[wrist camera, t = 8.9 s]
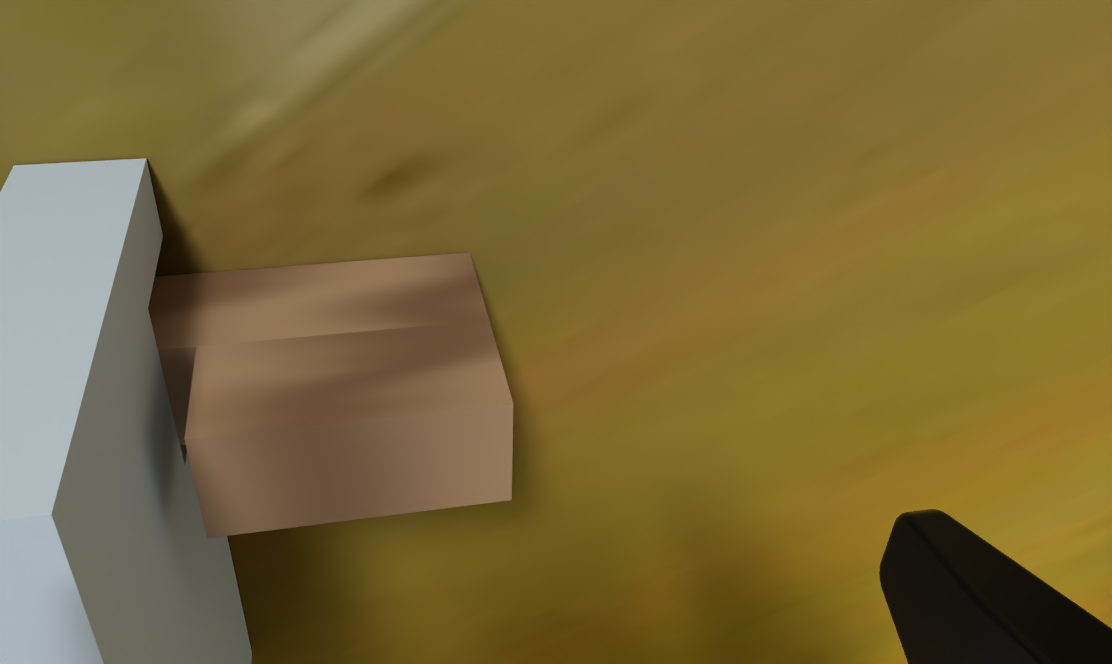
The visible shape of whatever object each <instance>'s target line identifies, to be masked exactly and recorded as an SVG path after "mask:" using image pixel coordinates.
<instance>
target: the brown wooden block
mask: <svg viewBox="0 0 1112 664" xmlns="http://www.w3.org/2000/svg"><path fill="white" fill-rule="evenodd" d="M148 311H149V315H150V319H151V323H152V328H153V332H154V336H155V340H156V345H157V349H158V353H159V357H160V362H161V366H162V370H163V374H164V379H165V383H166V387H167V391H168V396H169V400H170V404H171V408H172V413H173V417H174V421H175V426H176V430H177V434H178V438H179V443H180V445H185V444H186V449H187V453H188V457H189V462H190V466H191V470H192V475H193V479H194V483H195V488H196V492H197V496H198V501H199V505H200V509H201V514H202V518H203V523H204V527H205V531H206V536H207V538H214V537H222V536H230V535H238V534H246V533H254V532H262V531H269V530H277V529H285V528H293V527H301V526H309V525H317V524H325V523H333V522H341V521H349V520H357V519H365V518H373V517H381V516H389V515H397V514H405V513H413V512H421V511H429V510H437V509H445V508H453V507H461V506H469V505H477V504H485V503H493V502H500V501H508V500H512V455H513V401H512V397H511V394H510V390H509V387H508V383H507V380H506V376H505V373H504V369H503V366H502V362H501V359H500V356H499V352H498V349H497V345H496V342H495V338H494V335H493V331H492V328H491V324H490V321H489V317H488V314H487V310H486V307H485V303H484V300H483V296H482V293H481V289H480V286H479V282H478V279H477V275H476V272H475V268H474V265H473V261H472V258H471V254H470V253H457V254H444V255H431V256H418V257H404V258H391V259H378V260H365V261H351V262H338V263H325V264H312V265H298V266H285V267H272V268H259V269H245V270H232V271H219V272H205V273H192V274H179V275H166V276H155V277H154V282H153V287H152V291H151V296H150V301H149V306H148Z"/></svg>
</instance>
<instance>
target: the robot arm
mask: <svg viewBox="0 0 1112 664" xmlns="http://www.w3.org/2000/svg"><path fill="white" fill-rule="evenodd" d="M880 582H881V587H882V590H883V593H884V596H885V599H886V602H887V604H888V607H889V610H890V613H891V616H892V619H893V622H894V624H895V627H896V630H897V633H898V636H899V639H900V641H901V644H902V647H903V650H904V653H905V656H906V658H907V661H908V664H1112V629H1111V628H1110V627H1109V626H1107V625H1106V624H1104V623H1103V622H1101V621H1100V620H1099V619H1097V618H1096V617H1094V616H1093V615H1091V614H1090V613H1088V612H1087V611H1086V610H1084V609H1083V608H1081V607H1080V606H1078V605H1077V604H1076V603H1074V602H1073V601H1071V600H1070V599H1068V598H1067V597H1065V596H1064V595H1063V594H1061V593H1060V592H1058V591H1057V590H1055V589H1054V588H1053V587H1051V586H1050V585H1048V584H1047V583H1045V582H1044V581H1042V580H1041V579H1040V578H1038V577H1037V576H1035V575H1034V574H1032V573H1031V572H1030V571H1028V570H1027V569H1025V568H1024V567H1022V566H1021V565H1019V564H1018V563H1017V562H1015V561H1014V560H1012V559H1011V558H1009V557H1008V556H1007V555H1005V554H1004V553H1002V552H1001V551H999V550H998V549H996V548H995V547H994V546H992V545H991V544H989V543H988V542H986V541H985V540H984V539H982V538H981V537H979V536H978V535H976V534H975V533H974V532H972V531H971V530H969V529H968V528H966V527H965V526H963V525H962V524H961V523H959V522H958V521H956V520H955V519H953V518H952V517H951V516H949V515H948V514H946V513H944V512H942V511H940V510H935V509H929V510H921V511H913V512H905V513H902V514H901V515H900V516H899V517H898V518H897V519H896V521H895V523H894V526H893V529H892V532H891V534H890V537H889V540H888V543H887V546H886V549H885V552H884V555H883V558H882V561H881V564H880Z"/></svg>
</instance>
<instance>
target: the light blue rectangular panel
mask: <svg viewBox="0 0 1112 664" xmlns="http://www.w3.org/2000/svg"><path fill="white" fill-rule="evenodd" d="M162 238H163V234H162V229H161V225H160V220H159V215H158V211H157V206H156V201H155V197H154V192H153V187H152V183H151V178H150V173H149V169H148V164H147V159H146V158H144V159H125V160H107V161H88V162H69V163H51V164H32V165H14V166H13V168H12V170H11V172H10V174H9V176H8V178H7V180H6V182H5V184H4V186H3V188H2V190H1V192H0V664H251V662H252V650H251V646H250V641H249V636H248V632H247V627H246V622H245V618H244V613H243V608H242V604H241V599H240V594H239V590H238V585H237V580H236V576H235V571H234V566H233V562H232V557H231V552H230V547H229V543H228V538H227V536H222V537H214V538H207V536H206V531H205V527H204V523H203V518H202V514H201V509H200V505H199V501H198V496H197V492H196V488H195V483H194V479H193V475H192V470H191V466H190V462H189V457H188V453H187V449H186V444H185V445H180V443H179V438H178V434H177V430H176V426H175V421H174V417H173V413H172V408H171V404H170V400H169V396H168V391H167V387H166V383H165V379H164V374H163V370H162V366H161V362H160V357H159V353H158V349H157V345H156V340H155V336H154V332H153V328H152V323H151V319H150V315H149V311H148V306H149V301H150V296H151V291H152V287H153V282H154V277H155V272H156V267H157V262H158V258H159V253H160V248H161V243H162Z"/></svg>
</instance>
